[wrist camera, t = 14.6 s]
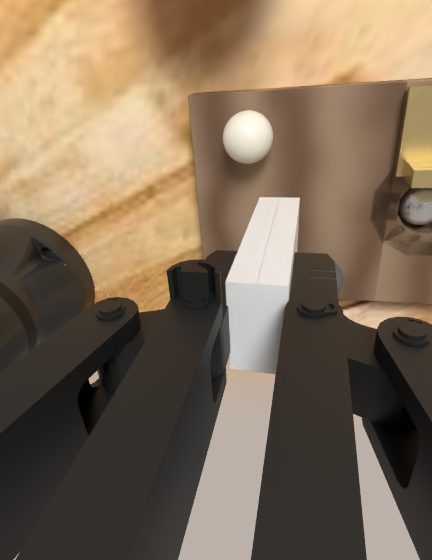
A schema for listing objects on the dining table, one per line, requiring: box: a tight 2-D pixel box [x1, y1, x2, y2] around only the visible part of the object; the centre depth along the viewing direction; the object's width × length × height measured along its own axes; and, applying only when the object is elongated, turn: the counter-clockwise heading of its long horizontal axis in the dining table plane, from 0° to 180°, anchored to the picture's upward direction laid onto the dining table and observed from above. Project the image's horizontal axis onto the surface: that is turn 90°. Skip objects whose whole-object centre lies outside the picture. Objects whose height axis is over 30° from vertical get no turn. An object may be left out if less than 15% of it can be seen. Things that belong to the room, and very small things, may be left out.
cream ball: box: [223, 110, 273, 164], centre depth 30 cm, size 4×4×4 cm
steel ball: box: [398, 187, 432, 225], centre depth 32 cm, size 3×3×3 cm
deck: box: [188, 78, 432, 304], centre depth 33 cm, size 26×18×2 cm
